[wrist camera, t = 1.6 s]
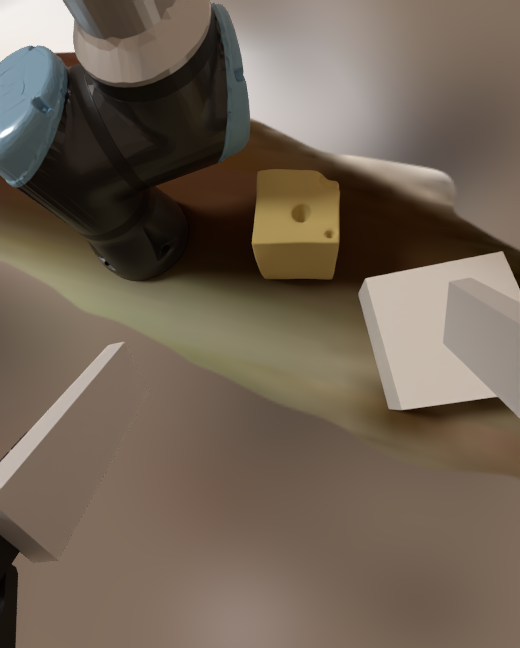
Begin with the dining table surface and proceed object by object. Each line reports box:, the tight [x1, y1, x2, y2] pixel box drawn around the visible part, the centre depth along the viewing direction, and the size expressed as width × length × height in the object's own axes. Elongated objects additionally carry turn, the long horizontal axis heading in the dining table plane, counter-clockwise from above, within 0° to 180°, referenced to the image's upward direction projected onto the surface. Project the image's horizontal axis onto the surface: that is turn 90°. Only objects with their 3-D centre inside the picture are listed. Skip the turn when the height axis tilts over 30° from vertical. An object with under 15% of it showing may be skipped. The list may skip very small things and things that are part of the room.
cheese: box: [252, 169, 340, 279], centre depth 37 cm, size 10×11×10 cm
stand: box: [358, 251, 520, 410], centre depth 32 cm, size 15×15×5 cm
